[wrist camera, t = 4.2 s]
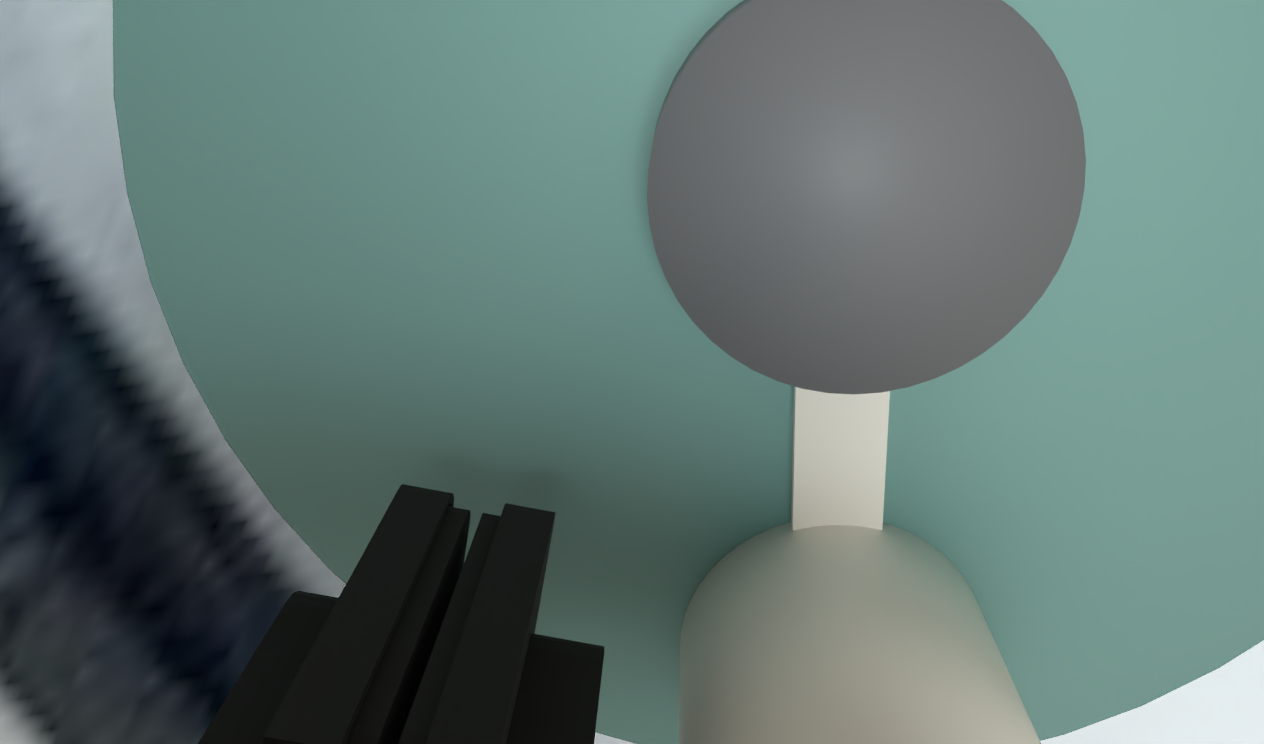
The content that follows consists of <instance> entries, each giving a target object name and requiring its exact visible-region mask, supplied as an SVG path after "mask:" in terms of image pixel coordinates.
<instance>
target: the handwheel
mask: <svg viewBox="0 0 1264 744" xmlns="http://www.w3.org/2000/svg"><path fill="white" fill-rule="evenodd" d="M113 64H114V101H115V108H116V115H117V123H118V130H119V137H120V145H121V152H122V159H123V167H124V174H125V181H126V189H127V194H128V198H129V201H130V205H131V209H132V213H133V216H134V220H135V224H136V228H137V232H138V235H139V239H140V243H141V247H142V250H143V254H144V258H145V262H146V266H147V269H148V273H149V277H150V281H151V283H152V286H153V288H154V291H155V293H156V296H157V298H158V301H159V303H160V306H161V308H162V311H163V313H164V316H165V318H166V321H167V323H168V326H169V328H170V331H171V333H172V336H173V338H174V341H175V343H176V346H177V348H178V351H179V353H180V356H181V358H182V361H183V363H184V365H185V367H186V369H187V371H188V373H189V374H190V376H191V378H192V380H193V382H194V384H195V385H196V387H197V389H198V391H199V393H200V394H201V396H202V398H203V400H204V402H205V404H206V405H207V407H208V409H209V411H210V413H211V415H212V416H213V418H214V420H215V422H216V424H217V425H218V427H219V429H220V431H221V433H222V435H223V436H224V438H225V440H226V441H227V443H228V444H229V446H230V447H231V448H232V450H233V451H234V453H235V454H236V455H237V457H238V458H239V460H240V461H241V462H242V464H243V465H244V467H245V468H246V469H247V471H248V472H249V474H250V475H251V476H252V478H253V479H254V481H255V482H256V483H257V485H258V486H259V488H260V489H261V490H262V492H263V493H264V495H265V496H266V497H267V499H268V500H269V502H270V503H271V504H272V506H273V507H274V509H275V510H276V511H277V512H278V513H279V514H280V515H281V516H282V517H283V519H284V520H285V521H286V522H287V523H288V524H289V525H290V526H291V527H292V528H293V530H294V531H295V532H296V533H297V534H298V535H299V536H300V537H301V538H302V539H303V540H304V542H305V543H306V544H307V545H308V546H309V547H310V548H311V549H312V550H313V551H314V553H315V554H316V555H317V556H318V557H319V558H320V559H321V560H322V561H323V562H324V564H325V565H326V566H327V567H328V568H329V569H330V570H331V571H332V572H333V573H335V574H336V575H337V576H338V577H339V578H340V579H341V580H343V581H344V582H345V583H346V584H347V582H348V580H349V578H350V577H351V575H352V573H353V571H354V569H355V567H356V566H357V564H358V562H359V560H360V558H361V556H362V555H363V553H364V551H365V549H366V547H367V545H368V544H369V542H370V540H371V538H372V536H373V534H374V533H375V531H376V529H377V527H378V525H379V523H380V522H381V520H382V518H383V516H384V514H385V512H386V511H387V509H388V507H389V505H390V503H391V501H392V500H393V498H394V496H395V494H396V492H397V490H398V489H399V487H400V486H401V484H405V485H410V486H416V487H421V488H427V489H432V490H438V491H443V492H449V493H453V495H454V507H455V508H461V509H466V510H470V513H471V514H470V525H469V532H468V539H467V546H466V552H465V559H464V562H465V560H466V557H467V554H468V551H469V549H470V546H471V543H472V540H473V538H474V535H475V532H476V529H477V527H478V524H479V521H480V518H481V516H482V514H483V513H487V514H493V515H498V516H501V514H502V511H503V508H504V505H505V503H508V504H513V505H519V506H524V507H530V508H535V509H540V510H546V511H551V512H556V513H555V520H554V526H553V532H552V538H551V543H550V549H549V555H548V560H547V566H546V572H545V577H544V583H543V589H542V594H541V600H540V606H539V611H538V617H537V623H536V628H535V634H538V635H544V636H550V637H555V638H561V639H566V640H572V641H577V642H583V643H588V644H594V645H599V646H604V660H603V668H602V677H601V686H600V694H599V703H598V712H597V721H596V729H595V732H597V733H600V734H604V735H608V736H611V737H615V738H618V739H622V740H625V741H629V742H633V743H636V744H1041V743H1040V741H1041V740H1045V739H1048V738H1052V737H1056V736H1060V735H1064V734H1067V733H1069V732H1072V731H1075V730H1077V729H1080V728H1083V727H1086V726H1088V725H1091V724H1094V723H1096V722H1099V721H1102V720H1105V719H1107V718H1110V717H1113V716H1115V715H1118V714H1121V713H1123V712H1126V711H1129V710H1132V709H1134V708H1137V707H1140V706H1142V705H1144V704H1146V703H1148V702H1150V701H1153V700H1155V699H1157V698H1159V697H1161V696H1163V695H1165V694H1167V693H1169V692H1171V691H1173V690H1175V689H1177V688H1179V687H1181V686H1183V685H1185V684H1187V683H1189V682H1191V681H1193V680H1195V679H1197V678H1199V677H1201V676H1203V675H1205V674H1207V673H1209V672H1212V671H1214V670H1216V669H1218V668H1220V667H1221V666H1223V665H1224V664H1226V663H1228V662H1229V661H1231V660H1232V659H1234V658H1236V657H1237V656H1239V655H1240V654H1242V653H1243V652H1245V651H1247V650H1248V649H1250V648H1251V647H1253V646H1255V645H1256V644H1258V643H1259V642H1261V641H1263V640H1264V0H113Z"/></svg>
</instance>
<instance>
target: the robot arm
mask: <svg viewBox="0 0 1264 744" xmlns="http://www.w3.org/2000/svg"><path fill="white" fill-rule="evenodd" d="M555 513H556V512H551V511H546V510H540V509H535V508H530V507H524V506H519V505H513V504H508V503H505V505H504V508H503V511H502V514H501V516H498V515H493V514H487V513H483V514H482V516H481V518H480V521H479V524H478V527H477V529H476V532H475V535H474V538H473V540H472V543H471V546H470V549H469V551H468V554H467V557H466V560H465V562H464V559H465V552H466V546H467V539H468V532H469V525H470V514H471V513H470V510H466V509H461V508H455V507H454V495H453V493H449V492H443V491H438V490H432V489H427V488H421V487H416V486H410V485H405V484H401V486H400V487H399V489H398V490H397V492H396V494H395V496H394V498H393V500H392V501H391V503H390V505H389V507H388V509H387V511H386V512H385V514H384V516H383V518H382V520H381V522H380V523H379V525H378V527H377V529H376V531H375V533H374V534H373V536H372V538H371V540H370V542H369V544H368V545H367V547H366V549H365V551H364V553H363V555H362V556H361V558H360V560H359V562H358V564H357V566H356V567H355V569H354V571H353V573H352V575H351V577H350V578H349V580H348V582H347V584H346V586H345V588H344V589H343V591H342V593H341V595H340V597H339V598H335V597H330V596H324V595H318V594H313V593H307V592H302V591H297V592H295V593H293V594H292V595H291V597H290V598H289V599H288V600H287V602H286V603H285V605H284V607H283V608H282V610H281V611H280V613H279V615H278V616H277V618H276V619H275V621H274V623H273V624H272V626H271V627H270V629H269V631H268V632H267V634H266V635H265V637H264V639H263V640H262V642H261V643H260V645H259V647H258V648H257V650H256V651H255V653H254V655H253V656H252V658H251V659H250V661H249V663H248V664H247V666H246V667H245V669H244V671H243V672H242V674H241V675H240V677H239V679H238V680H237V682H236V683H235V685H234V687H233V688H232V690H231V691H230V693H229V695H228V696H227V698H226V699H225V701H224V703H223V704H222V706H221V707H220V709H219V711H218V712H217V714H216V715H215V717H214V719H213V720H212V722H211V723H210V725H209V727H208V728H207V730H206V731H205V733H204V735H203V736H202V738H201V739H200V741H199V743H198V744H594V738H595V729H596V721H597V712H598V703H599V694H600V686H601V677H602V668H603V660H604V646H599V645H594V644H588V643H583V642H577V641H572V640H566V639H561V638H555V637H550V636H544V635H538V634H535V628H536V623H537V617H538V611H539V606H540V600H541V594H542V589H543V583H544V577H545V572H546V566H547V560H548V555H549V549H550V543H551V538H552V532H553V526H554V520H555Z"/></svg>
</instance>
